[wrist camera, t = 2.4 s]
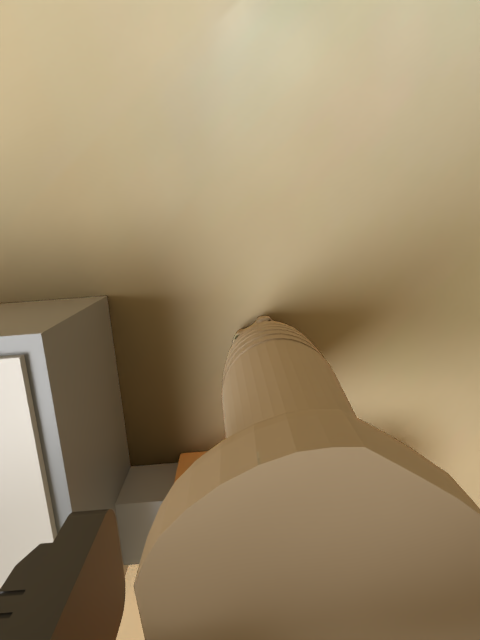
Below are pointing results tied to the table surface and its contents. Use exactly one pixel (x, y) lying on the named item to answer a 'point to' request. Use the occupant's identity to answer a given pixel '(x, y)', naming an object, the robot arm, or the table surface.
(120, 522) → the chair with orange tray
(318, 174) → the table surface
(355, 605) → the handle
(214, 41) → the table surface
